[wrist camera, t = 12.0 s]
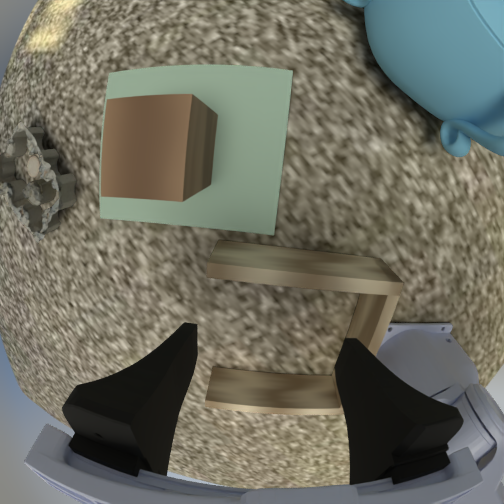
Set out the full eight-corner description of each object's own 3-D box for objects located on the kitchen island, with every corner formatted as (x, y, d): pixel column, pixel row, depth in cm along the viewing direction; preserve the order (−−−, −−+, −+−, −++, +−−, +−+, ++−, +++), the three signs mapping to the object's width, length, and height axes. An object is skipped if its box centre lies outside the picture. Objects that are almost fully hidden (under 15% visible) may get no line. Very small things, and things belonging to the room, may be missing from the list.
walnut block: (217, 114, 17) (192, 93, 10) (210, 184, 19) (182, 201, 12) (156, 113, 17) (106, 99, 10) (151, 180, 19) (100, 196, 12)
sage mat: (292, 73, 16) (292, 70, 16) (273, 232, 20) (273, 235, 20) (112, 74, 16) (109, 73, 16) (103, 216, 20) (100, 218, 20)
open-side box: (380, 258, 21) (404, 282, 16) (337, 381, 25) (346, 414, 21) (218, 239, 21) (207, 262, 16) (212, 373, 26) (205, 406, 21)
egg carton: (10, 165, 19) (-16, 171, 15) (42, 113, 17) (14, 112, 14) (51, 240, 22) (25, 254, 18) (88, 192, 20) (60, 201, 16)
